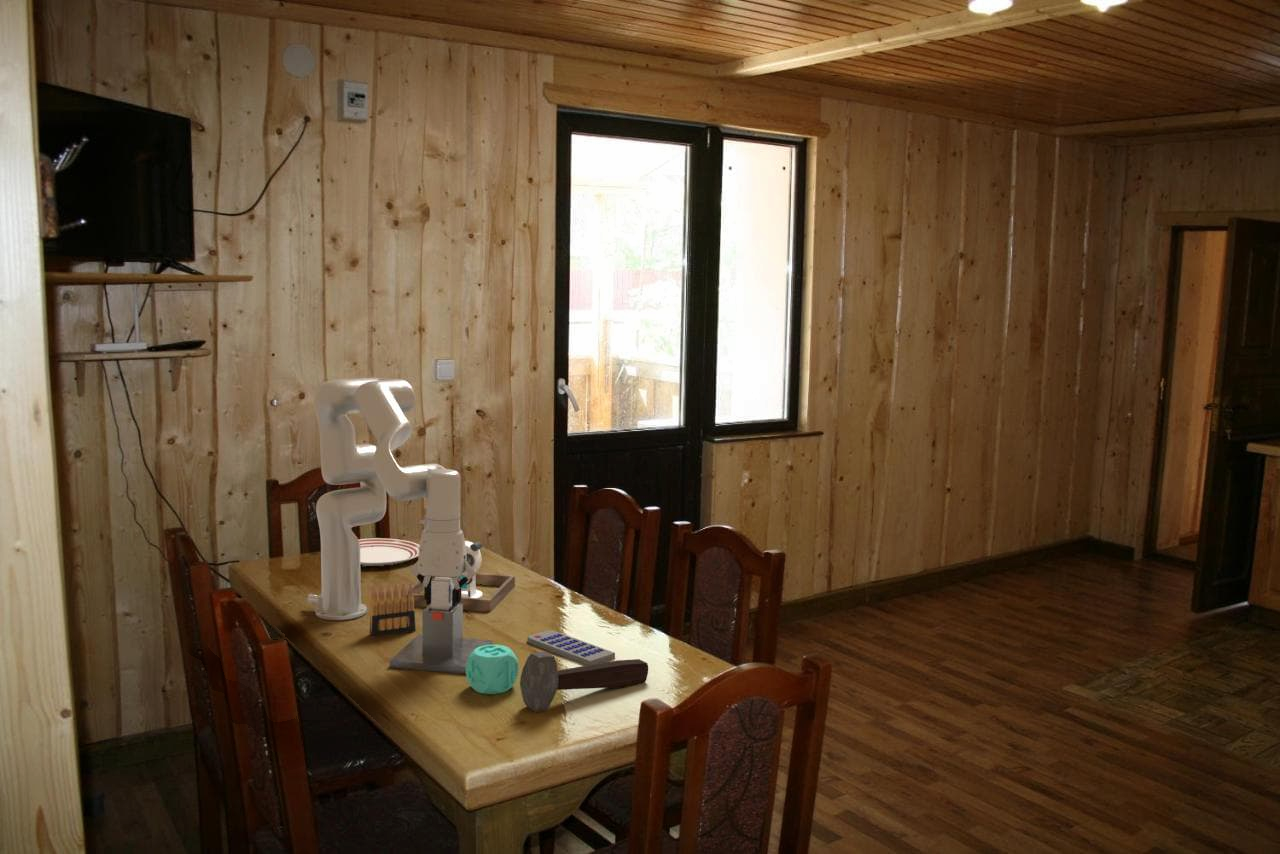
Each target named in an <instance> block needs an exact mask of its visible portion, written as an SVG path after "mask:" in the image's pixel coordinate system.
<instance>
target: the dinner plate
mask: <svg viewBox="0 0 1280 854" xmlns="http://www.w3.org/2000/svg"><path fill="white" fill-rule="evenodd" d="M358 540H359V543H360V565H363V566H362V567H366V566H380V567H385V566H384V565H390V566H393V565H392V564H395V565H399V564H402V563H404V562H409V561H410V560H414V559H415V558H418V557H419V547H420V544H419V543H416V542H413V541H410V540H403V539H397V538H396V539H395V538H386V537H385V538H382V537H381V538H380V537H374V538H360V539H359V538H358ZM372 546H373V547H372ZM398 563H399V564H398Z"/></svg>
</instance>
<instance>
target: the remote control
mask: <svg viewBox="0 0 1280 854" xmlns="http://www.w3.org/2000/svg"><path fill="white" fill-rule="evenodd" d="M528 643H529V644H530V645H532V646H535V647H537V648H540V649H543V650H546V651H548V652H551V653H553V654H556V655H558V656H561V657H564V658H566V659H569V660H572V661H575V662H577V663H580V664H582V665H583V666H587V665H593V664H599V663H605V662H609V661H612V660H614V659H615V658H616V652H614V651H612V650H608V649H607V648H606V649H605V648H603V647H600V646H597V645H595V644H592V643H589V642H586V641H584V640H581V639H578V638H575V637H573V636H570V635H567V634H565V633H562V632H558V631H556V630H544V631H541V632H537V633H533V634H530V635H528V636H527V644H528Z"/></svg>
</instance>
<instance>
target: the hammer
mask: <svg viewBox="0 0 1280 854" xmlns="http://www.w3.org/2000/svg"><path fill="white" fill-rule="evenodd" d="M648 675H649V665H648V662H646V661H643V660H642V659H639V658H635V659H620V660H618V659H617V660H610V661H605V662H603V663H599V664H593V665H582V666H577V667H570V668H564V669H558V663H557V661H556V658H555V656H554V655H551V654H550V653H548V652H544V651H537V652H533V653H530V655H528V657H527V659H526V660H525V663H524V666H523V668H522V670H521V674H520V680H519V688H520V691H521V697H522V700H523V703H524V705H525V706H526V707H527V708H528V709H530V710H531V711H533V712H535V713H541V712H546V711H547V710H548V709H549V708H550V706H551V705H552V702H553V700H554V698H555V696H556V693H557V691H563V690H564V691H565V690H585V689H586V690H587V689H588V690H589V689H609V688H610V689H613V688H626V687H632V686H637V685H641V684H645V683H646V681H647V678H648Z"/></svg>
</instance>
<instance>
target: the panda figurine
mask: <svg viewBox="0 0 1280 854" xmlns="http://www.w3.org/2000/svg"><path fill="white" fill-rule="evenodd" d="M465 545H466V557H467V562H468V563H469V564H470V566H471V567H472V568H473V569H474V571H475V572H476V573H478V571H479V570H480V568H481V566H482V563H483V561H482V560H483V557H482V554H481V551H480V549H482V548H483V544H482V542H481V541H475V542H472V541H468V540H465ZM466 575H467V572H466V571H465V572H464V573H462V575H461V577H462V578H463V577H465V576H466ZM476 586H477V584H476V575H475V576H473V577H472V578H471V579H470V580H468V581H467V582H466V583H465V584H464V585H463V586H462V587H461V597H467V598H481V599H482V597H483V595H484V594H483V591H481V590H479V589H477V587H476Z"/></svg>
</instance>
